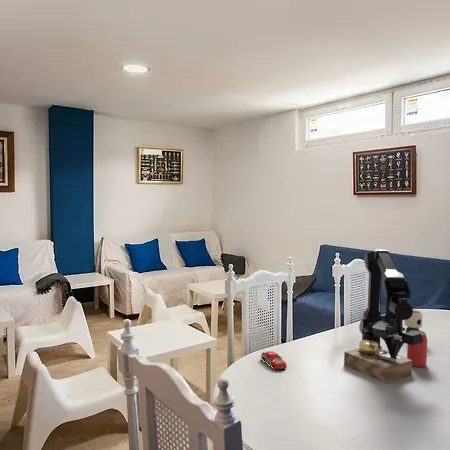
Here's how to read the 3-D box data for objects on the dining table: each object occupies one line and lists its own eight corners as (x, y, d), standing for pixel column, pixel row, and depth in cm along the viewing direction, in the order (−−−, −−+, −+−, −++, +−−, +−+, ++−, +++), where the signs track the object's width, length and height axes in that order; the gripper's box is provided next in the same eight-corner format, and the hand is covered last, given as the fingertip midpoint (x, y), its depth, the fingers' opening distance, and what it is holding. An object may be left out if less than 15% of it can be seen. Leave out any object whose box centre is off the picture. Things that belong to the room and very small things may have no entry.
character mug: (417, 346, 179) (418, 315, 178) (399, 342, 183) (400, 312, 182) (424, 340, 187) (425, 310, 186) (407, 336, 191) (408, 307, 191)
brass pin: (369, 370, 153) (369, 347, 152) (355, 364, 158) (355, 341, 158) (381, 367, 156) (381, 344, 155) (367, 361, 161) (367, 339, 161)
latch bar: (376, 357, 152) (376, 352, 152) (382, 355, 153) (381, 351, 153) (396, 362, 145) (395, 357, 145) (401, 360, 146) (401, 355, 147)
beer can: (428, 368, 155) (429, 335, 154) (408, 366, 156) (410, 334, 156) (423, 361, 162) (425, 330, 161) (405, 360, 163) (406, 329, 162)
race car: (288, 370, 152) (288, 359, 152) (274, 372, 151) (275, 361, 150) (272, 357, 165) (272, 347, 165) (259, 359, 163) (259, 349, 163)
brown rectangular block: (344, 364, 158) (344, 346, 157) (369, 357, 165) (370, 340, 164) (385, 383, 142) (385, 362, 142) (411, 374, 150) (412, 355, 149)
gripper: (356, 309, 151) (355, 353, 151) (402, 321, 135) (402, 370, 136) (377, 306, 157) (376, 348, 157) (424, 317, 141) (423, 364, 141)
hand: (393, 357), depth 148 cm, fingers closed, pressing on latch bar
